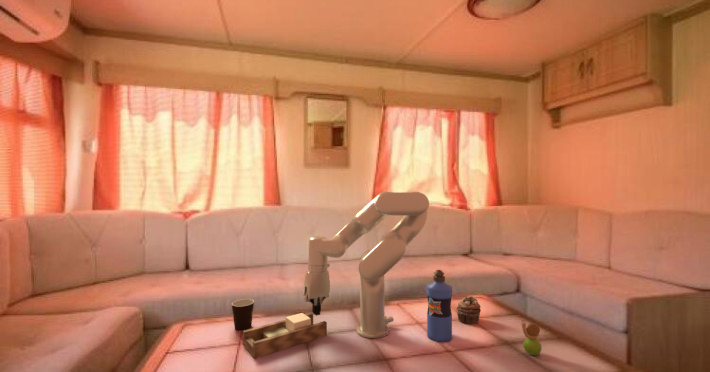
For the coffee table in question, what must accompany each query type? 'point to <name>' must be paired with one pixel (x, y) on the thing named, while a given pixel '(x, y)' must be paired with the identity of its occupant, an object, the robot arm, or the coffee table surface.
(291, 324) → the cream block
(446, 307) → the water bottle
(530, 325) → the snail figurine
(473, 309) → the cupcake
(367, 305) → the robot arm
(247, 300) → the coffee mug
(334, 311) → the coffee table surface
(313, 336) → the box
